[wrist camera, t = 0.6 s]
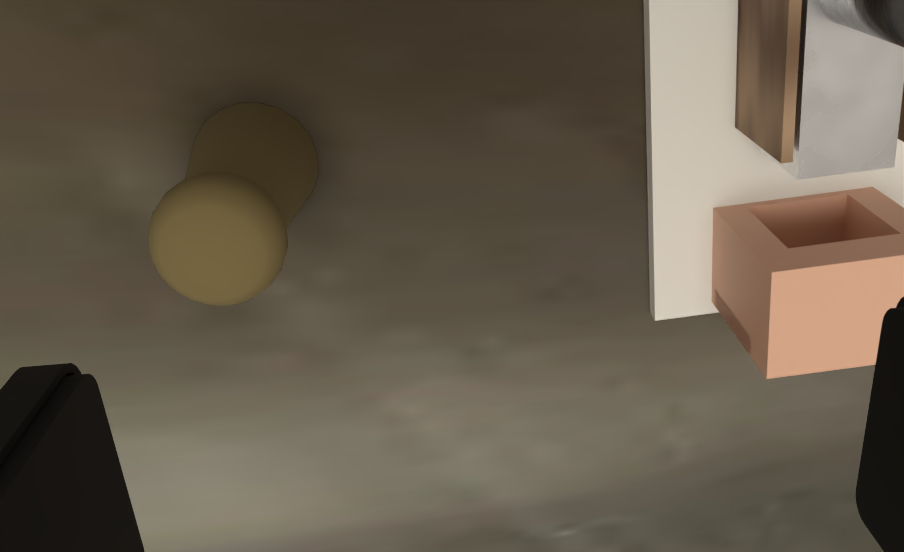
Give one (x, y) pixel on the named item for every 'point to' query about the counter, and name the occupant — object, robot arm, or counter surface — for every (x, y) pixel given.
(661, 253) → the grey base board
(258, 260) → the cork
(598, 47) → the counter surface
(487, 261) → the counter surface
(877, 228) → the terracotta socket
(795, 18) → the walnut sleeve
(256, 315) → the counter surface
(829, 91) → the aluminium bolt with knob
